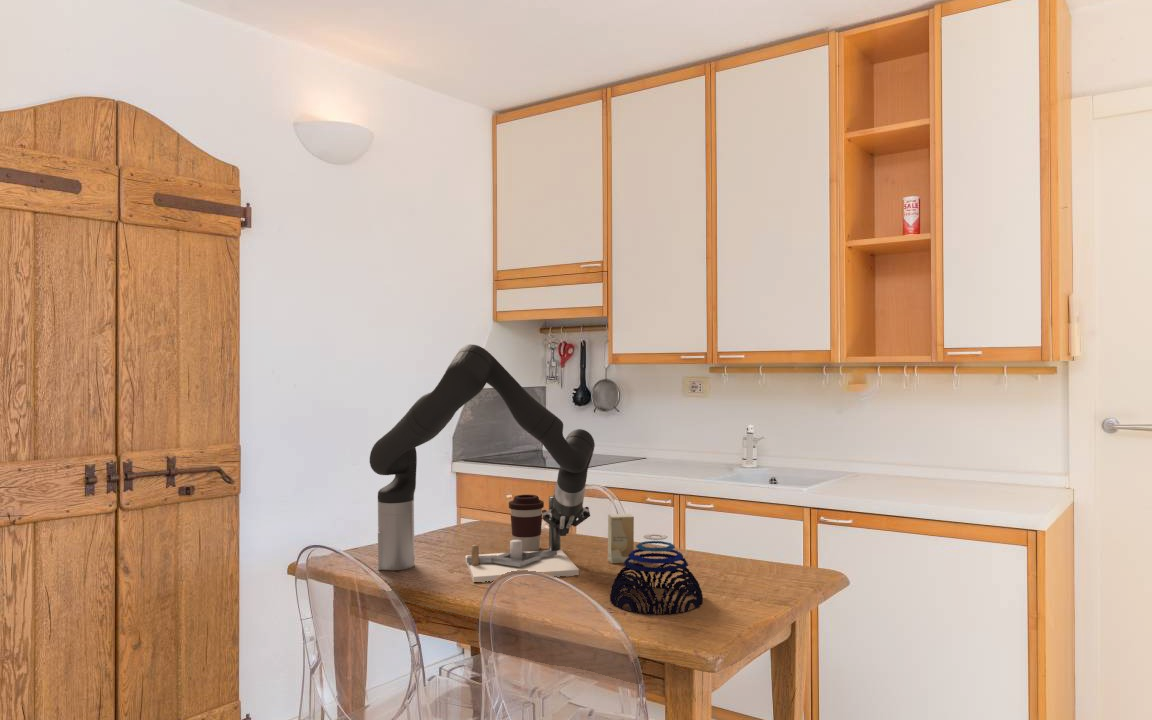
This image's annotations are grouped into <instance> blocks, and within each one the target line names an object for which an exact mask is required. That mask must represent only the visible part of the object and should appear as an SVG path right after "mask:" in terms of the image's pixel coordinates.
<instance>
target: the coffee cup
mask: <svg viewBox="0 0 1152 720" xmlns="http://www.w3.org/2000/svg"><path fill="white" fill-rule="evenodd" d="M544 503H545V502H544V500H542V499H540V497H539V496H538V495H537V494H518V495H515V496H514V497H513V500H510V501H508V508H509V509H510V525H511V535H512V540H521V541H522V552H527V551H539V549H540V548H541V547H540V546H541V544H540V543H541V534H542V522H543V516H542V510H543V508H544V507H545V504H544Z"/></svg>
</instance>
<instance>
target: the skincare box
mask: <svg viewBox="0 0 1152 720" xmlns="http://www.w3.org/2000/svg"><path fill="white" fill-rule="evenodd" d="M607 517H608V518H607V523H608V524H607V561H609V562H610V564H624V562H625V561H626V559H627V558H629V557H628V555H629V554H630V553H631V552H632V551H634V550H635V548H634V547H635V545H634V536H635V535H634V533H635V531H634V530H635V525H634V524H635V523H634V522H635V521H634V520H635V516H633V514H631V513H616V514H615V513H613V514H612V513H611V514H608V515H607ZM629 562H631V563H634V560H632V559H631V560H629Z"/></svg>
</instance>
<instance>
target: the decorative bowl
mask: <svg viewBox="0 0 1152 720" xmlns="http://www.w3.org/2000/svg"><path fill="white" fill-rule="evenodd" d="M643 538H644V539H645V540H646V541H641V542H638V544H636V545H635V548H636V549H635V548H634V549H633V551H632V552H631V553H630V554H629V555H628V557H629V558H627V559H626V561H625V562H624V563H623V564H624V567H622V568H621V569H620V571H619V572H618V573H617V575H616V576H615V578H614V580H613V583H612V585H611V589H610V594H609V601H610V603H611V605H613V607H615V608H618V609H620V610H621V611H624V612H628V613H633V614H641V615H647V616H648V615H649V616H658V615H659V616H660V615H661V616H664V615H665V616H666V615H667V616H670V615H671V616H672V615H678V614H680V615H681V614H685V613H688V612H691V611H694V610H697V609H699V608H700V607H701V606H703V602H704V601H703V599H704V598H703V590H702V589H701V587H700V586H701V585H700V583H699V581H698V579H697V578H696V576H695V575H694V574H693V573H692V571H690V569H689V568H687V567H688V566H690V565H689V564H688V561H687V560H686V558H685V557H684V555H683V553H681V552H680V551H679V550H677V549H675V548H676V547H675V544H673V543H671V542H666V541H662V540H665V539H666V540H667V538H668V535H666V534H661V533H648V534H645V535H643ZM648 544H650V545H651V544H652V545H653V544H662V545H665V546H663V547H657V546H656V547H649V546H644V545H648ZM666 545H667V546H666ZM642 552H647V553H642ZM648 552H649V553H648ZM650 552H651V553H650ZM661 552H667V553H661ZM669 552H670V553H674V554H676V555H674V554H670V553H669ZM637 553H640V554H637ZM654 557H657V558H654ZM631 559H632V560H633V562H631V563H630V562H629V560H631ZM634 561H635V562H634ZM679 561H681V562H682V563H679ZM677 562H678V563H677ZM643 563H645V564H658V566H656V567H655V566H654V567H651V566H646V565H644V564H643ZM659 564H660V565H659ZM651 573H653V575H652V576H651ZM666 573H668V574H667V575H666V576H665V578H664V575H665V574H666ZM676 573H677V576H674V577H673V574H676ZM679 573H681V574H679ZM658 575H659V576H658ZM657 576H658V577H657ZM645 577H646V579H645ZM663 578H664V581H662V579H663ZM669 579H670V582H669ZM680 579H681V580H680ZM677 580H678V581H677ZM656 582H657V584H656ZM662 582H663V583H662ZM654 589H663V591H662V593H661V596H660V599H658V596H657V593H656V592H655V590H654ZM670 590H671V592H669V591H670ZM632 591H634V592H635V593H634V592H632ZM676 592H677V595H676V597H675V599H674V600H673V597H674V595H675V594H676ZM625 594H629V595H625ZM636 594H638V595H639V596H638V595H636ZM630 595H631V596H630ZM683 595H684V596H683ZM690 596H693V597H694V598H691V599H688V600H687V601H686V603H685V605H684V602H685V600H686V599H687V597H690ZM632 597H633V598H632ZM639 597H640V598H639ZM643 597H644V598H643ZM667 597H668V598H667ZM634 598H635V599H634ZM681 598H682V599H681ZM640 599H641V600H640ZM666 599H668V600H667V601H666ZM637 603H638V604H637ZM642 603H643V605H644V606H643V605H642ZM671 604H673V605H671ZM625 605H627V606H628V607H629V608H630V610H629V609H625V608H624V606H625ZM638 605H639V607H638ZM683 605H684V610H683V611H682V607H683ZM691 605H693V606H694V607H693V608H691V609H690V606H691ZM639 608H640V610H639ZM654 610H655V611H654ZM664 610H665V611H664ZM677 611H678V612H677Z"/></svg>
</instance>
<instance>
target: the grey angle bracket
mask: <svg viewBox="0 0 1152 720" xmlns="http://www.w3.org/2000/svg"><path fill="white" fill-rule="evenodd" d="M553 499H554V495H550V496H548V510H550V507H551V506H552V505H553ZM555 518H556V517H555ZM556 519H557V518H556ZM557 520H558V519H557ZM557 528H558V527H557ZM557 528H553V527H552V526H551V525H549V524H548V549H544V550H536V551H537V552H531V553H526V552H522V558H521V559H512V558H510V551H507V552H503V553H504V554H501V555H498V556H497V555H491V556H479V563H488V562H491V563H498V564H504V565H510V566H517V567H521V566H524V565H527V564H529V563H532V562H535V561H537V560H540V559H541V558H542V557H547V556H553V555H557V551H558V550H562V549H561V536H560V534H558V529H557ZM467 563H472V556H468V557H467Z"/></svg>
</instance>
